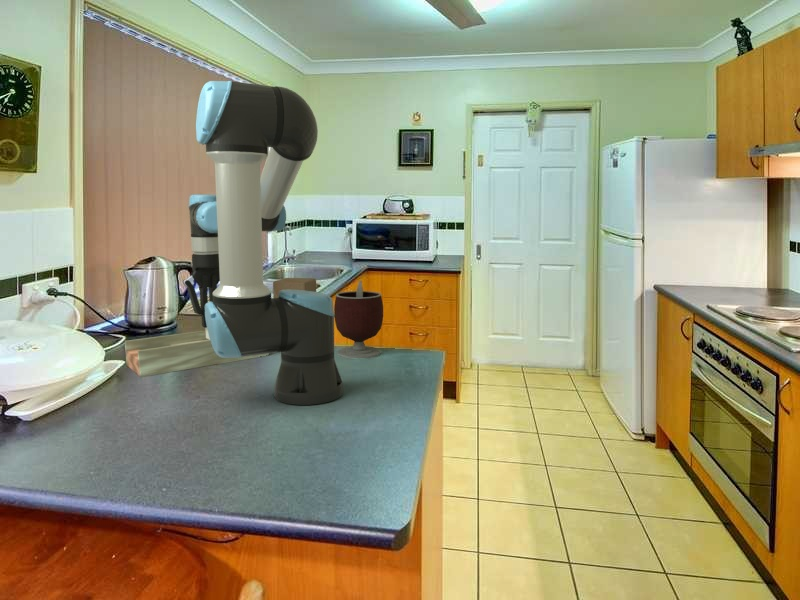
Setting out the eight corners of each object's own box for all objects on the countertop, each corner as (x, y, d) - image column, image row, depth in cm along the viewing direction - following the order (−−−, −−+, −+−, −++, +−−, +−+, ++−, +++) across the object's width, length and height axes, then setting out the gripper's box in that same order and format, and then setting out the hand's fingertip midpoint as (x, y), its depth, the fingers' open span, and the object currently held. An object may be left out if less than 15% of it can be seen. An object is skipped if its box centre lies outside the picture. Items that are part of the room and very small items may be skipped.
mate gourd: (382, 359, 156) (382, 287, 153) (332, 359, 156) (331, 287, 153) (384, 346, 172) (383, 280, 169) (338, 346, 172) (337, 280, 169)
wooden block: (306, 350, 167) (304, 282, 164) (274, 348, 169) (272, 281, 166) (318, 342, 177) (316, 278, 173) (287, 340, 179) (285, 277, 175)
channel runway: (268, 355, 161) (268, 332, 160) (140, 377, 140) (138, 351, 139) (248, 346, 172) (247, 324, 170) (126, 364, 151) (124, 340, 150)
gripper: (224, 251, 160) (227, 333, 164) (177, 252, 152) (181, 339, 156) (235, 252, 154) (238, 337, 158) (186, 254, 146) (191, 344, 150)
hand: (210, 338), depth 157 cm, fingers closed
